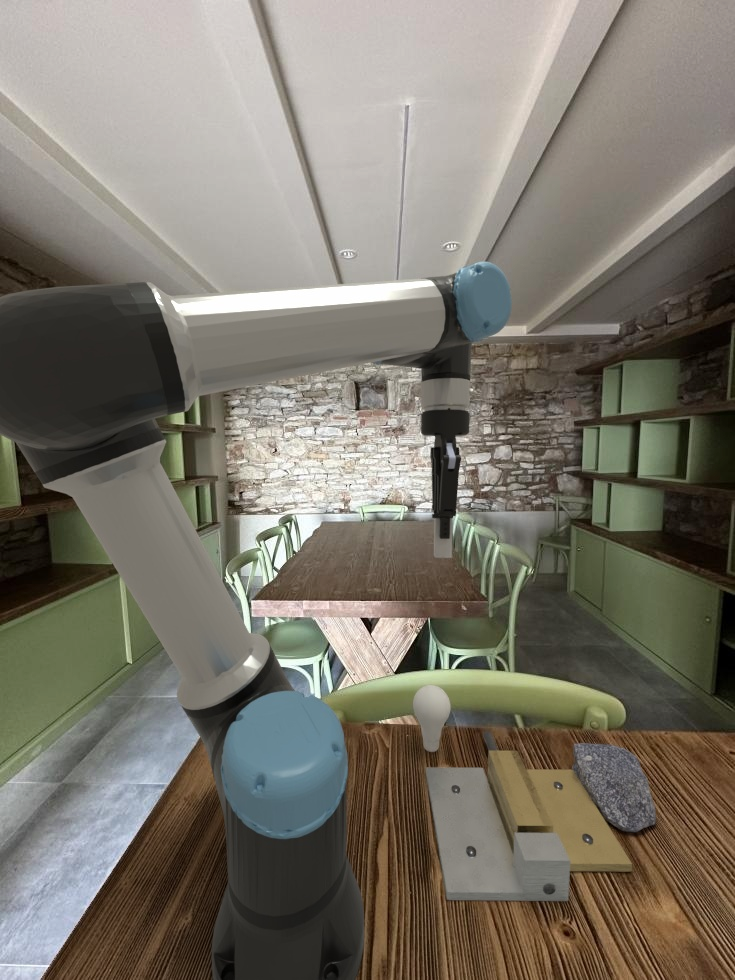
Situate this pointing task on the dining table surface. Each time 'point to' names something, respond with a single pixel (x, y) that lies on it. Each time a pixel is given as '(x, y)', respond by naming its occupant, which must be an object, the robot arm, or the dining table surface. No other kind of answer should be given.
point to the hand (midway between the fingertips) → (442, 556)
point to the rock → (615, 785)
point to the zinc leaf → (490, 843)
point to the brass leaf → (553, 812)
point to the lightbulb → (431, 714)
